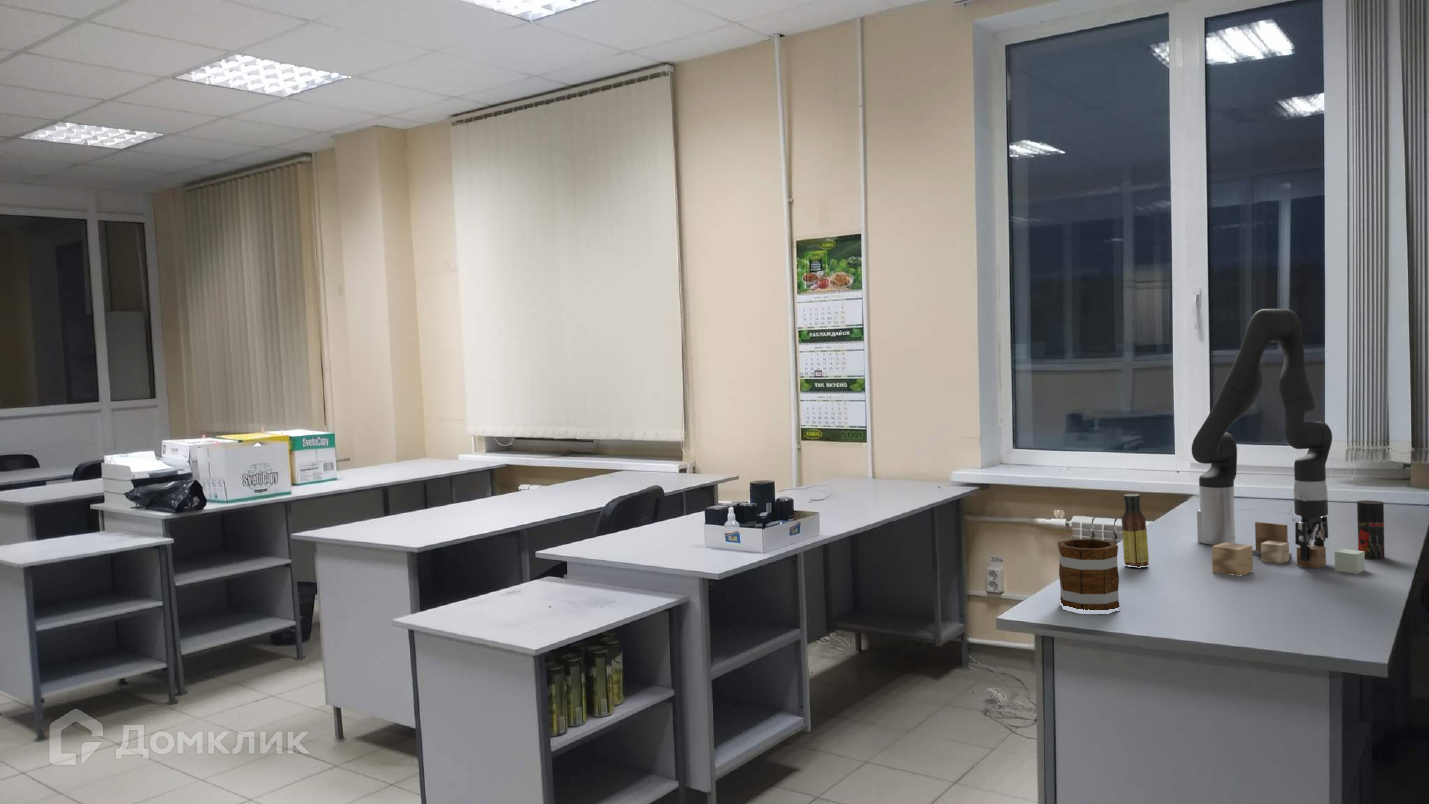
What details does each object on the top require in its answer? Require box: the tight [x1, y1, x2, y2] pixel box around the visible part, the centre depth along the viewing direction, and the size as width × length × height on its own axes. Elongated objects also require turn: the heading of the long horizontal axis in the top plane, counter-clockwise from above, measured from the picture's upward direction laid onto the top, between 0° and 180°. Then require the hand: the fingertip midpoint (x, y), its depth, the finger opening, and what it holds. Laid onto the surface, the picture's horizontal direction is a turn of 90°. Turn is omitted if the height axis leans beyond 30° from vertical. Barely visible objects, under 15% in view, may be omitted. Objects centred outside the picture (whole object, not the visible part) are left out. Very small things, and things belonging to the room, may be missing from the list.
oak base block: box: [1211, 542, 1254, 577], centre depth 249 cm, size 7×7×7 cm
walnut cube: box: [1296, 544, 1327, 569], centre depth 252 cm, size 5×5×5 cm
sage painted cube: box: [1334, 548, 1366, 574], centre depth 245 cm, size 5×5×5 cm
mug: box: [1057, 538, 1120, 610], centre depth 224 cm, size 20×14×15 cm
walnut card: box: [1252, 521, 1292, 559], centre depth 265 cm, size 9×3×9 cm, turn 37°
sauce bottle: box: [1121, 493, 1150, 567], centre depth 260 cm, size 6×6×20 cm
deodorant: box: [1356, 499, 1386, 560], centre depth 258 cm, size 6×6×15 cm
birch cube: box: [1260, 540, 1290, 564], centre depth 259 cm, size 5×5×5 cm
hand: (1312, 558), depth 252 cm, fingers open, 8 cm apart
